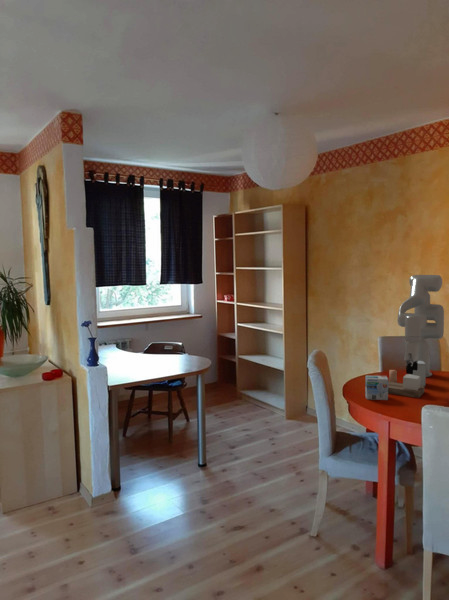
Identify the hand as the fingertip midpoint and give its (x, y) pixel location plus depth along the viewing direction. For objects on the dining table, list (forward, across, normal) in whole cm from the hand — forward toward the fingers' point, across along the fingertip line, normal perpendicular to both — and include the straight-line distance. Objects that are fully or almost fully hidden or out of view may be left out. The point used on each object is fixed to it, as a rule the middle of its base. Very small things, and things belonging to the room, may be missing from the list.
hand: (411, 371), depth 237 cm
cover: (+9, -1, 0) cm, 9 cm away
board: (+12, -1, -5) cm, 13 cm away
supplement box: (+11, -20, -2) cm, 23 cm away
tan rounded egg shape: (+11, -16, -14) cm, 24 cm away
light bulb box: (+12, +16, -13) cm, 24 cm away
